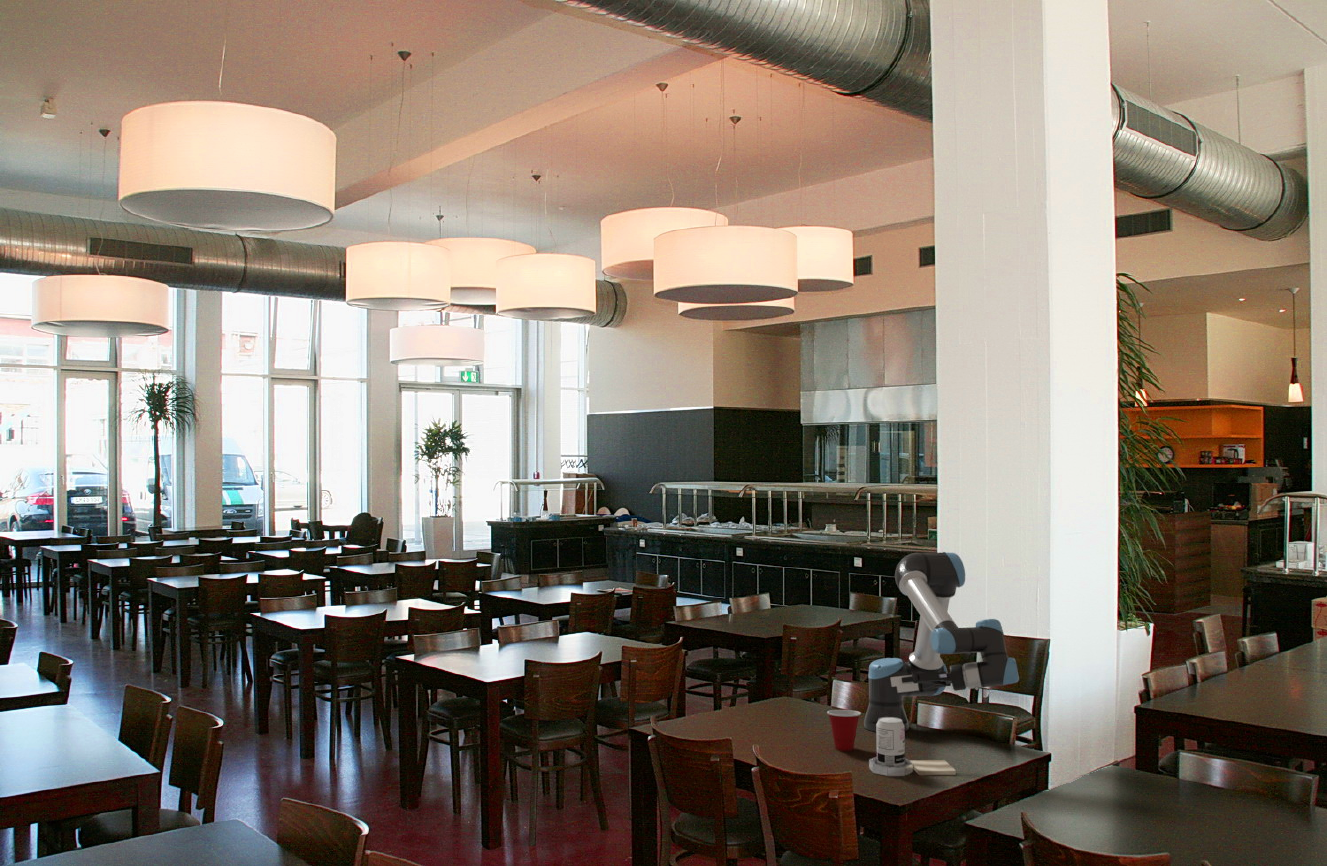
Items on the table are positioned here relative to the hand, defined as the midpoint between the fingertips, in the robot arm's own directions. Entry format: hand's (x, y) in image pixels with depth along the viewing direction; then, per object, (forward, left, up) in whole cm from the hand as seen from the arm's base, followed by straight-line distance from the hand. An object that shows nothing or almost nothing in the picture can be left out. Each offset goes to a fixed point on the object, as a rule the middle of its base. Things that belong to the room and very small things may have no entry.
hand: (894, 685), depth 321 cm
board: (+7, +9, -24) cm, 27 cm away
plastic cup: (-17, -12, -24) cm, 32 cm away
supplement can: (+7, -3, -24) cm, 25 cm away
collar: (+7, -3, -24) cm, 25 cm away
